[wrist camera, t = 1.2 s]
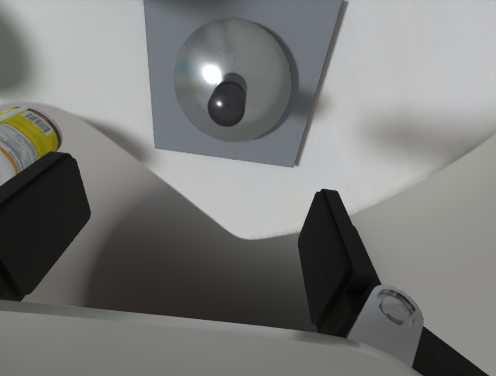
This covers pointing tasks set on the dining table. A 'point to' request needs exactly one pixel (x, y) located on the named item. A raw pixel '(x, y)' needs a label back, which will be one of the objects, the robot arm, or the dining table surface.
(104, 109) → the dining table surface
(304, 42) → the mat
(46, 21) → the dining table surface
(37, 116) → the supplement bottle
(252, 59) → the lid
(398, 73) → the dining table surface
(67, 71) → the dining table surface
